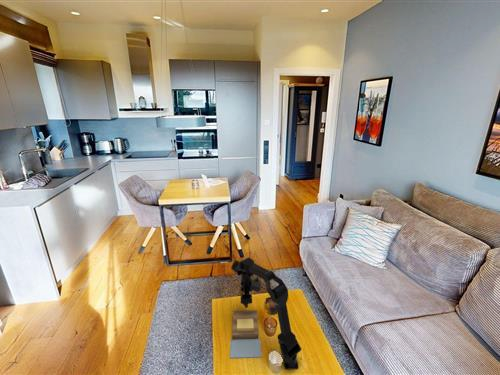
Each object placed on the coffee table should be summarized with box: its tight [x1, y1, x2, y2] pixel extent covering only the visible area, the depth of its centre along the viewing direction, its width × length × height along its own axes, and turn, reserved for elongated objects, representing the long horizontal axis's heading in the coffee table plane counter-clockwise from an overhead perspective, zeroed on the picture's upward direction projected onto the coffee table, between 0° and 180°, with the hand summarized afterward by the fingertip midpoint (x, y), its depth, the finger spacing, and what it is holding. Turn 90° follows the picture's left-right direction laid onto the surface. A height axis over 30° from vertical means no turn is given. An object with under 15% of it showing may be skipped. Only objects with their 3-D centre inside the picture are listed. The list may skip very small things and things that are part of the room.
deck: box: [231, 309, 259, 340], centre depth 139 cm, size 16×14×4 cm
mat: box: [229, 338, 263, 359], centre depth 127 cm, size 10×16×1 cm, turn 91°
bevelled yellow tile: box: [237, 319, 254, 331], centre depth 135 cm, size 6×9×2 cm, turn 91°
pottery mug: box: [264, 296, 278, 315], centre depth 151 cm, size 12×10×8 cm
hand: (246, 301), depth 141 cm, fingers open, 9 cm apart
